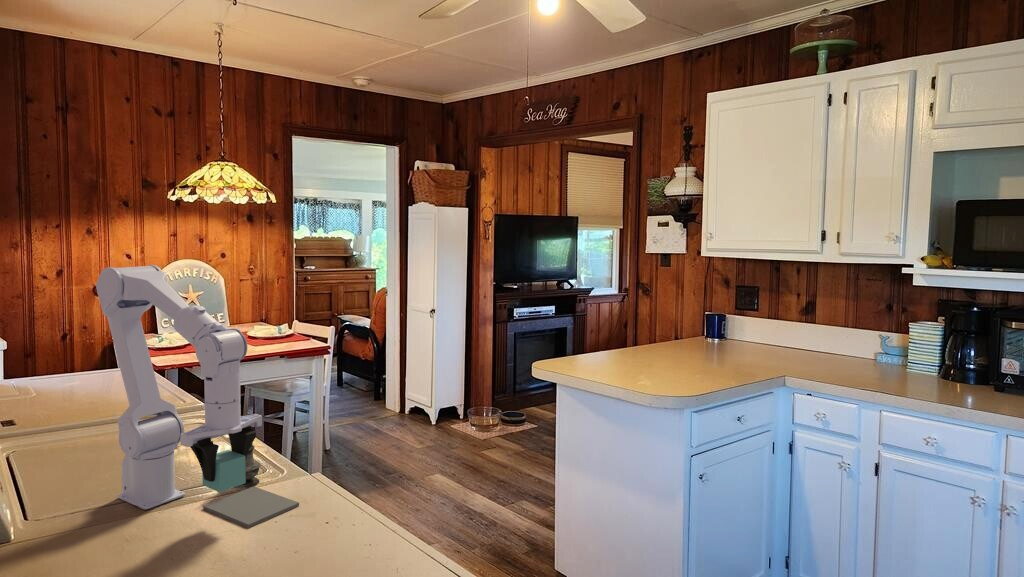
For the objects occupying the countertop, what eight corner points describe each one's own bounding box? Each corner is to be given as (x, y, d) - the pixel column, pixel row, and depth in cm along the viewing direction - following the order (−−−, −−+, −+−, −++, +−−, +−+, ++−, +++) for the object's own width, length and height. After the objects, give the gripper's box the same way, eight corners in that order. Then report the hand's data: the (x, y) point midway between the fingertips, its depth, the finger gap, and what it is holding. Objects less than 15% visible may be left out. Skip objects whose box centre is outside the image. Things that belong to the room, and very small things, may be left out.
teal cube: (202, 485, 117) (202, 457, 117) (228, 476, 122) (227, 449, 121) (220, 492, 115) (219, 464, 114) (245, 483, 119) (245, 455, 118)
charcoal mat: (203, 508, 123) (203, 505, 123) (254, 489, 133) (254, 486, 133) (248, 527, 117) (248, 524, 117) (299, 505, 126) (299, 502, 126)
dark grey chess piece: (250, 490, 132) (249, 431, 131) (223, 487, 133) (222, 428, 132) (266, 479, 138) (266, 422, 137) (241, 476, 139) (240, 419, 138)
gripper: (197, 413, 108) (199, 494, 110) (272, 394, 121) (273, 467, 122) (172, 405, 112) (174, 483, 114) (247, 388, 124) (248, 459, 126)
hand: (223, 475), depth 118 cm, fingers closed on teal cube, 5 cm apart
